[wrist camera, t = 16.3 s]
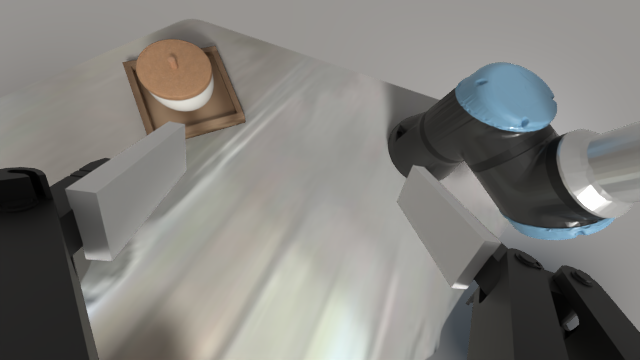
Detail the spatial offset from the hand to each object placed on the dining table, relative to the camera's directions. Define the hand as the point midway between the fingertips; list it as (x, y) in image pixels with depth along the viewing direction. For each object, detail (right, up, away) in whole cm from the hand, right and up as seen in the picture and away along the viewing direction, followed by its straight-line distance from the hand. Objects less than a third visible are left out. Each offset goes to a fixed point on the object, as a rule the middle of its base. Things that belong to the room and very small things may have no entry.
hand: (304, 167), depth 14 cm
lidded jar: (-24, +15, +32) cm, 42 cm away
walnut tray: (-24, +15, +32) cm, 43 cm away
